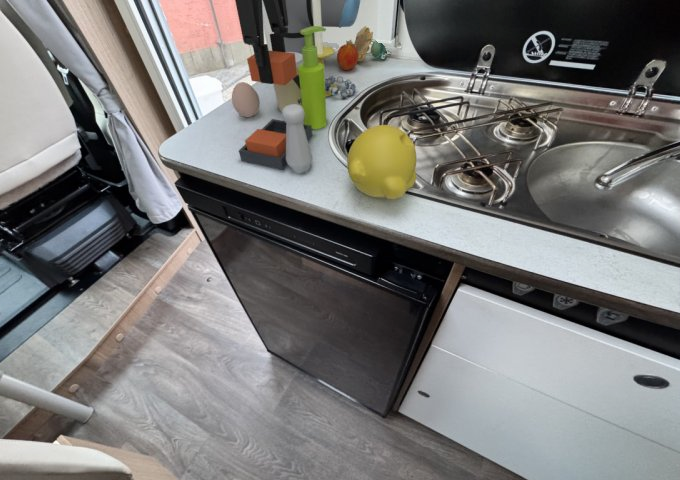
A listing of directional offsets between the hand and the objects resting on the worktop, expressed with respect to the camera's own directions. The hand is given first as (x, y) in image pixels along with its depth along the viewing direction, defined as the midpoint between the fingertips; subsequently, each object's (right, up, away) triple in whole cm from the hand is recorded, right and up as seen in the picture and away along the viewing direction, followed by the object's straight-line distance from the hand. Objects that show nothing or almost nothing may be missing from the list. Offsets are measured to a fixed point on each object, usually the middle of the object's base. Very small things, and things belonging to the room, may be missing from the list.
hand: (274, 76), depth 62 cm
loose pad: (0, 0, 0) cm, 0 cm away
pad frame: (-1, -11, +9) cm, 15 cm away
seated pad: (-2, -14, +7) cm, 15 cm away
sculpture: (+25, -27, -6) cm, 37 cm away
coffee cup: (+1, +6, +22) cm, 23 cm away
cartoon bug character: (+20, +35, +36) cm, 54 cm away
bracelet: (+15, +13, +26) cm, 32 cm away
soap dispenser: (+8, -2, +16) cm, 18 cm away
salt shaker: (+5, -18, +4) cm, 19 cm away
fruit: (+18, +26, +37) cm, 49 cm away
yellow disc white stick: (+9, +14, +28) cm, 33 cm away
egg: (-11, +2, +20) cm, 23 cm away
